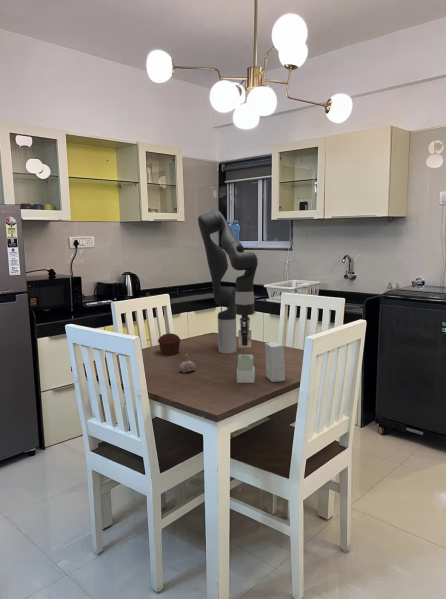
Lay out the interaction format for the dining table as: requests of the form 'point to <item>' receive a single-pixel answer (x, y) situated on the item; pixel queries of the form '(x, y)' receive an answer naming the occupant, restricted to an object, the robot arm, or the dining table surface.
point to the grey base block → (246, 376)
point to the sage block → (245, 363)
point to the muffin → (169, 344)
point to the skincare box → (275, 361)
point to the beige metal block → (241, 338)
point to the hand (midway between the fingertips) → (245, 343)
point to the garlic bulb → (187, 366)
